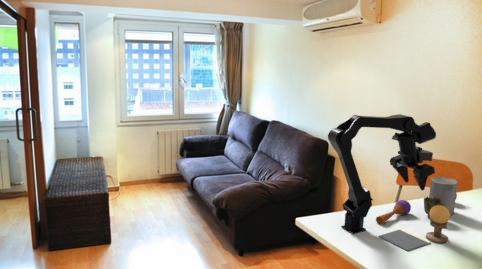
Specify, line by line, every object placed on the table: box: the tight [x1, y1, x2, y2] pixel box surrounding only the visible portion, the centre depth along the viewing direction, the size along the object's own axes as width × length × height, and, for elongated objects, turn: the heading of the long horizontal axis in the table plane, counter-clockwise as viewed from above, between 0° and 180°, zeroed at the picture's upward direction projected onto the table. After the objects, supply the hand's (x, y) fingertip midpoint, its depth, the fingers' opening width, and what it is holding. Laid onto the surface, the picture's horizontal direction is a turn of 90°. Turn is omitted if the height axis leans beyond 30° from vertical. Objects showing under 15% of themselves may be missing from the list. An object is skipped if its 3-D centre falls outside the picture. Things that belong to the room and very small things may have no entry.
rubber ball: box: [429, 205, 451, 224], centre depth 133 cm, size 6×6×6 cm
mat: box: [378, 228, 432, 252], centre depth 134 cm, size 12×12×1 cm
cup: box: [423, 196, 445, 220], centre depth 152 cm, size 8×7×8 cm
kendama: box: [375, 199, 412, 226], centre depth 152 cm, size 6×6×20 cm
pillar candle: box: [428, 176, 458, 216], centre depth 158 cm, size 10×10×15 cm
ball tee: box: [425, 219, 449, 245], centre depth 134 cm, size 7×7×6 cm
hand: (414, 186), depth 144 cm, fingers open, 9 cm apart
